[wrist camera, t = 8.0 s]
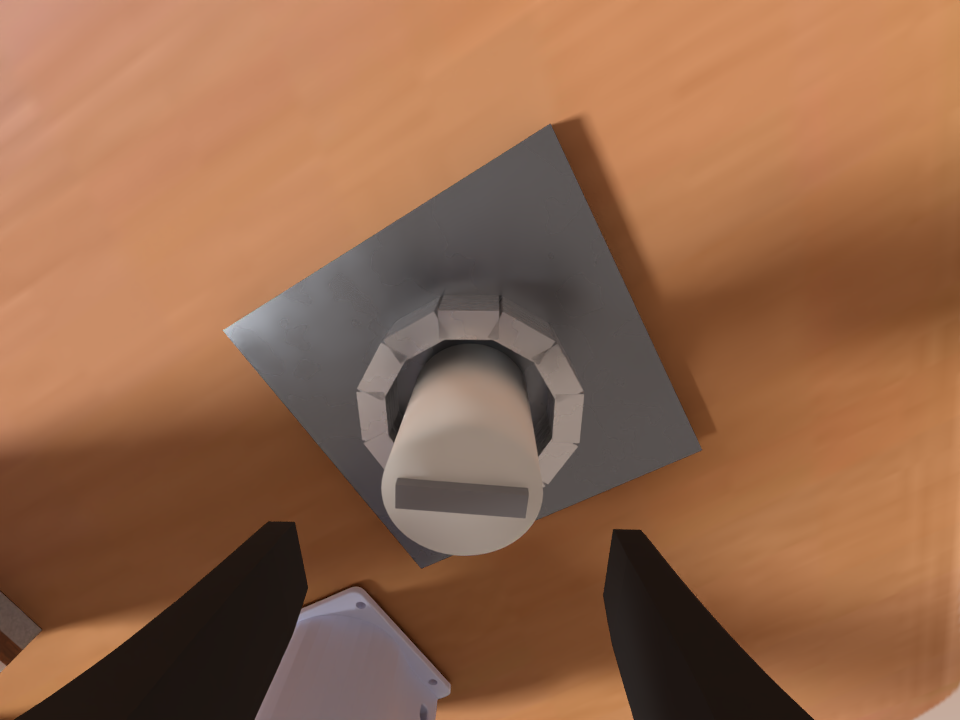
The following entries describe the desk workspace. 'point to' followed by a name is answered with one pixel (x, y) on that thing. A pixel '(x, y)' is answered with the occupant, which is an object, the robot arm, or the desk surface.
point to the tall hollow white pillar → (14, 631)
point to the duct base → (477, 333)
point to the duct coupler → (465, 455)
